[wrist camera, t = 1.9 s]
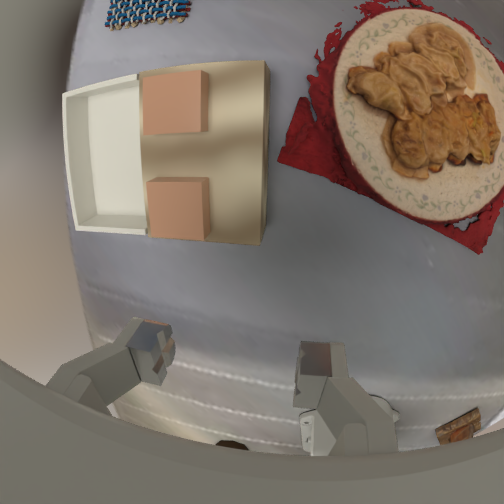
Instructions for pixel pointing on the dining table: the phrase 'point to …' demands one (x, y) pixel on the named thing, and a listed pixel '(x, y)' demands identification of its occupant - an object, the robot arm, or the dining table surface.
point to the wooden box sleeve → (220, 149)
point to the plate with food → (408, 119)
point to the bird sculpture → (459, 428)
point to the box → (105, 156)
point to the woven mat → (145, 12)
